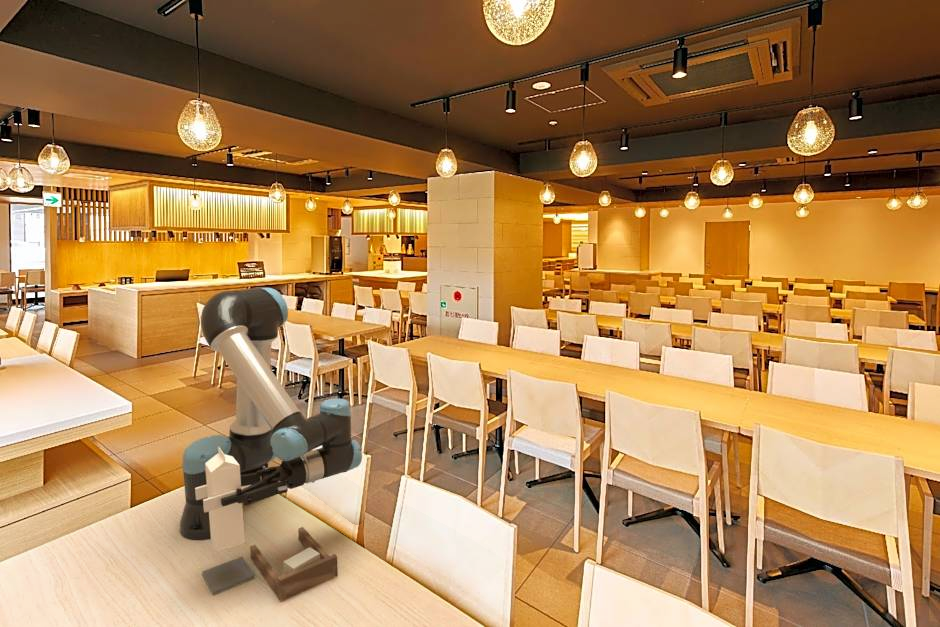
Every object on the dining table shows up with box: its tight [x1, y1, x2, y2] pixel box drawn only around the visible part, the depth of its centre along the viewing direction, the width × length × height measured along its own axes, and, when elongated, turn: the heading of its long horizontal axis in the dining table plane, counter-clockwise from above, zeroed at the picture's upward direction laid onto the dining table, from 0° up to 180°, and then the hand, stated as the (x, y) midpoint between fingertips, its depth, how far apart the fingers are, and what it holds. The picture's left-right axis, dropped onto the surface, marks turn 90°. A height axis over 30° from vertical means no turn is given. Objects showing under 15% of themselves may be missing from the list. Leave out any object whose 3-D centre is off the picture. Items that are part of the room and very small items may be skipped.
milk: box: [205, 447, 246, 553], centre depth 116 cm, size 6×6×22 cm
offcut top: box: [282, 547, 320, 575], centre depth 118 cm, size 4×7×3 cm, turn 142°
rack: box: [249, 526, 339, 602], centre depth 123 cm, size 20×13×5 cm
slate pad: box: [201, 556, 256, 596], centre depth 120 cm, size 9×9×1 cm
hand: (200, 499), depth 113 cm, fingers closed on milk, 6 cm apart
